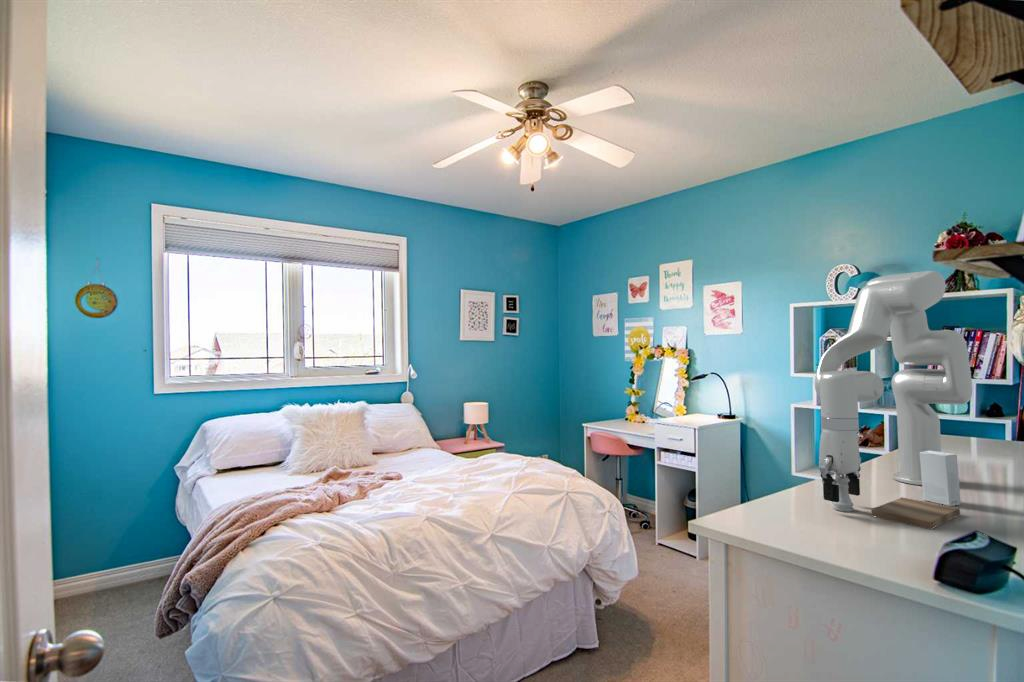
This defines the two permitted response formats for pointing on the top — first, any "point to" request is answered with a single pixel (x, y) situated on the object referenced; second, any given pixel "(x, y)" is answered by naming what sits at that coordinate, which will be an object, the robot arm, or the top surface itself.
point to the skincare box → (940, 478)
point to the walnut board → (915, 512)
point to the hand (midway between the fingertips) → (842, 497)
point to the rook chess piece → (843, 496)
